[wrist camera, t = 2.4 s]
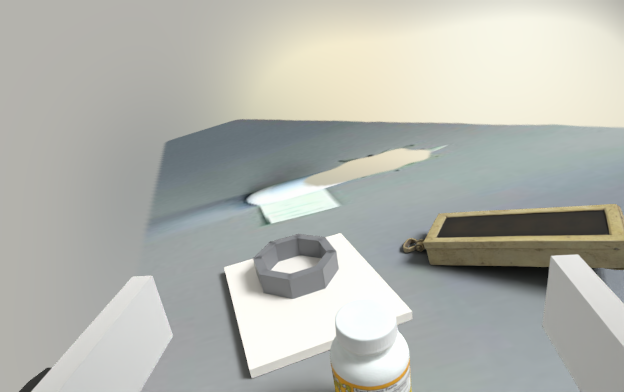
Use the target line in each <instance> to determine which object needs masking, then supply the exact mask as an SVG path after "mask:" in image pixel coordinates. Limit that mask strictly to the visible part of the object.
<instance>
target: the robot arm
mask: <svg viewBox="0 0 624 392" xmlns="http://www.w3.org/2000/svg"><path fill="white" fill-rule="evenodd" d="M542 327H543V329H544V331H545V332H546V334H547V336H548V337H549V339H550V341H551V342H552V344H553V346H554V347H555V349H556V351H557V353H558V354H559V356H560V358H561V359H562V361H563V363H564V364H565V366H566V368H567V370H568V371H569V373H570V375H571V376H572V378H573V380H574V381H575V383H576V385H577V386H578V388H579V390H580V392H624V304H623V303H622V301H621V300H620V299H619V298H618V297H617V296H616V295H615V294H614V293H613V292H612V291H611V290H610V288H609V287H608V286H607V285H606V284H605V283H604V282H603V281H602V280H601V279H600V278H599V277H598V275H597V274H596V273H595V272H594V271H593V270H592V269H591V268H590V267H589V266H588V265H587V263H586V262H585V261H584V260H583V259H582V258H581V257H580V256H579V255H578V254H575V255H555V256H551V258H550V266H549V274H548V283H547V291H546V300H545V308H544V316H543V325H542ZM172 337H173V334H172V332H171V329H170V326H169V323H168V320H167V317H166V314H165V311H164V308H163V305H162V303H161V300H160V297H159V294H158V291H157V288H156V285H155V282H154V279H153V277H152V276H136V277H132V278H131V279H130V280H129V281H128V282H127V283H126V285H125V286H124V287H123V288H122V289H121V290H120V291H119V293H118V294H117V295H116V296H115V297H114V298H113V299H112V300H111V302H110V303H109V304H108V305H107V306H106V307H105V308H104V309H103V311H102V312H101V313H100V314H99V315H98V316H97V317H96V319H95V320H94V321H93V322H92V323H91V324H90V326H89V327H88V328H87V329H86V330H85V331H84V332H83V333H82V334H81V336H80V337H79V338H78V339H77V340H76V342H74V344H73V345H72V346H71V347H70V348H69V349H68V350H67V352H66V353H65V354H64V355H63V356H62V357H61V358H60V359H59V361H58V362H57V363H56V364H55V365H54V366H53V368H46V369H45V370H44V371H42V372H41V373H40V374H38V375H37V376H36V377H34V378H33V379H32V380H30V381H29V382H28V383H27V384H26V385H25V386H24V387H23V388H22V389H21V390H20V391H19V392H140V391H141V389H142V388H143V386H144V384H145V383H146V381H147V379H148V377H149V376H150V374H151V372H152V371H153V369H154V367H155V366H156V364H157V362H158V360H159V359H160V357H161V355H162V354H163V352H164V350H165V349H166V347H167V345H168V344H169V342H170V340H171V338H172Z"/></svg>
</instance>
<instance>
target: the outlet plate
mask: <svg viewBox="0 0 624 392" xmlns="http://www.w3.org/2000/svg"><path fill="white" fill-rule="evenodd" d="M224 269H225V273H226V278H227V282H228V286H229V290H230V294H231V298H232V302H233V306H234V310H235V314H236V318H237V322H238V326H239V330H240V334H241V338H242V342H243V346H244V350H245V354H246V358H247V362H248V366H249V370H250V374H251V378H255V377H257V376H260V375H263V374H266V373H268V372H271V371H274V370H276V369H279V368H282V367H285V366H287V365H290V364H293V363H295V362H298V361H301V360H304V359H306V358H309V357H312V356H314V355H317V354H320V353H323V352H325V351H328V350H330V348H331V344H332V342H333V340H334V338H335V336H336V329H335V317H336V314H337V312H338V311H339V310H340V308H341V307H343V306H344V305H345V304H347V303H349V302H352V301H355V300H360V299H373V300H377V301H381V302H383V303H385V304H387V305H388V306H389V307H390V308H392V310H393V311H394V313H395V315H396V321H397V325H399V324H401V323H404V322H407V321H410V320H412V311H411V310H410V308H409V307H408V306H407V305H406V304H405V303H404V302H403V301H402V300H401V299H400V298H399V296H398V295H397V294H396V293H395V292H394V291H393V290H392V289H391V288H390V287H389V285H388V284H387V283H386V282H385V281H384V280H383V279H382V278H381V277H380V276H379V275H378V273H377V272H376V271H375V270H374V269H373V268H372V267H371V266H370V265H369V264H368V262H367V261H366V260H365V259H364V258H363V257H362V256H361V255H360V254H359V253H358V252H357V250H356V249H355V248H354V247H353V246H352V245H351V244H350V243H349V242H348V241H347V240H346V238H345V237H344V236H343V235H342V234H341V233H339V234H336V235H332V236H329V237H320V236H312V235H304V234H296V235H293V236H289V237H286V238H282V239H279V240H275V241H272V242H269V243H268V244H267V245H266V246H265V247H264V248H263V249H262V250H261V251H260V252H259V253H258V254H257V255H256V256H255V257H254V258H253V259H250V260H247V261H244V262H240V263H237V264H233V265H230V266H227V267H224Z"/></svg>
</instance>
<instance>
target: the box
mask: <svg viewBox="0 0 624 392" xmlns="http://www.w3.org/2000/svg"><path fill="white" fill-rule="evenodd" d="M411 243H415V244H416V245H415V246H412V247H409V248H408V246H409V245H410V244H411ZM415 249H416V250H417V251H423V250H424V249H426V250H427V254H428V258H429V262H430V264H431V265H474V266H533V267H549V266H550V258H551V256H555V255H575V254H578V255H579V256H580V257H581V258H582V259H583V260H584V261H585V262H586V263H587V265H588V266H589V267H590V268H606V269H614V270H624V216H623V213H622V211H621V208H620V207H619V206H618V205H616V204H607V205H592V206H574V207H554V208H536V209H516V210H494V211H475V212H458V213H442V214H438V216H437V218H436V219H435V221H434V223H433V225H432V227H431V229H430V231H429V232H428V234H427V236H426V238H425V240H423V239H420V240H418V241H417V240H416V239H413V238H409V239H407V240H406V242H405V243H404V244H403V250H404V252H406V253H408V252H411V251H413V250H415Z"/></svg>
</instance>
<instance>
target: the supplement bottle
mask: <svg viewBox="0 0 624 392" xmlns="http://www.w3.org/2000/svg"><path fill="white" fill-rule="evenodd" d="M335 329H336V336H335V338H334V340H333V342H332V344H331V348H330V361H331V367H332V373H333V379H334V385H335V392H412V391H411V375H410V358H409V349H408V345H407V343H406V341H405V339H404V338H403V336H402V335H401V334H400V333H399V332H398V328H397V321H396V315H395V313H394V311H393V310H392V308H390V307H389V306H388V305H387V304H385V303H383V302H381V301H377V300H373V299H360V300H355V301H352V302H349V303H347V304H345V305H344V306H343V307H341V308H340V310H339V311H338V312H337V314H336V317H335Z"/></svg>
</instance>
